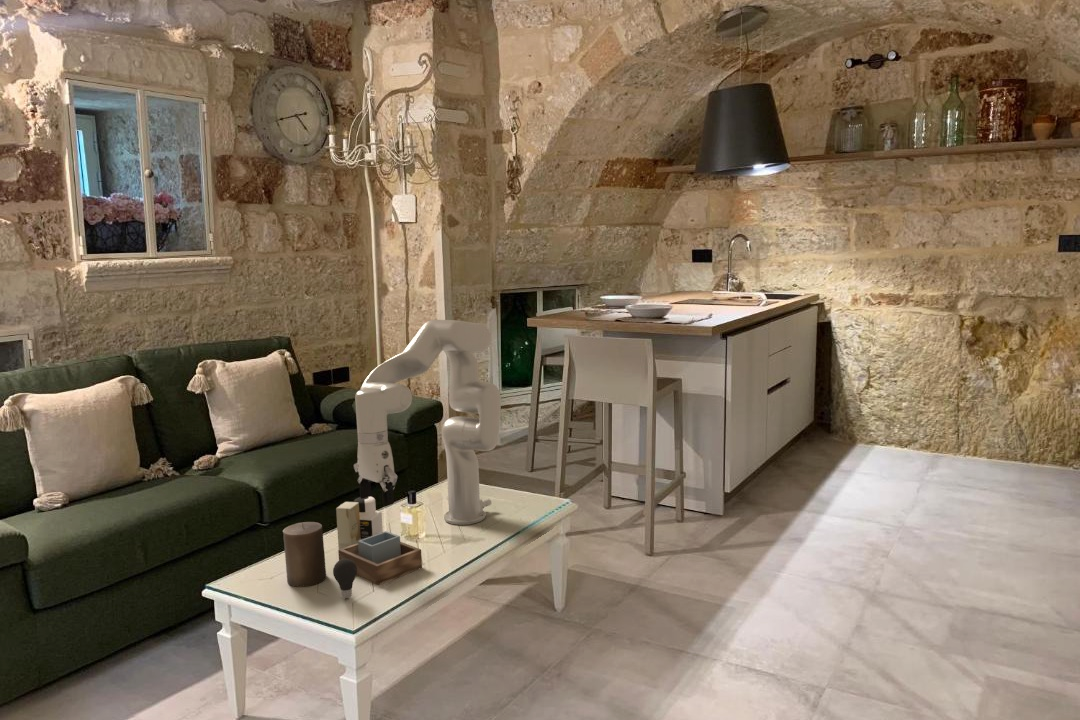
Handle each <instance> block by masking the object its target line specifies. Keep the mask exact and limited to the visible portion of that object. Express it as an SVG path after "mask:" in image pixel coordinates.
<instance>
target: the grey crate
mask: <svg viewBox="0 0 1080 720" xmlns="http://www.w3.org/2000/svg"><path fill="white" fill-rule="evenodd" d="M400 542H401V537H400V535H398V534H394V533H392V532H389V531H387V530H385V531H383V532H382V533H379V534H376V535H374V536H371V537H368V538H365V539H362V540H359V541H358V551H359V556H360V557H362V558H365V559H367V560H370V561H372V562H374V563H377V564H379V563H382V562H385V561H387V560H390V559H393V558H395V557H398V556H401V547H400Z"/></svg>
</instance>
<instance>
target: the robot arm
mask: <svg viewBox="0 0 1080 720" xmlns="http://www.w3.org/2000/svg"><path fill="white" fill-rule="evenodd" d="M491 342H492V333H491V331H490V329H489V328H488V326H487V325H485V324H484V323H478V322H471V321H464V320H457V319H456V320H453V319H430V320H428V321H426V322H425V323H423V325H422V326H421V327H420V328H419V330H418V331H417V333H416V334H415V335H414V336H413V338H412V339H411V341H409V343H408V344H407V346H406V347H405V349H404V350H403V351H402V352H400V353H399V354H396V355H394V356H393V357H391V358H389V359H387V360H385V361H384V362H382V363H381V364H379V365H378V366H376V367H375V368H374V369H373V370H372V371H371V372H370V373H369V375H368V376H367V377H366V378H365V380H364V381H363V383H362V385H361V387H360V389H359V390H358V391H357V392H356V393H355V396H354V399H355V400H354V401H355V402H354V403H355V416H356V430H357V462H355V463H354V464H353V469H354V471H355V476H356V477H357V482H358V484H359V485H358V487H359V488H358V489H359V497H360V498H361V499H363V498H366V497H372V483H371V482H375V483H377V484H378V483H379V484H380V486H381V488H382V490H381V499H382V500H381V503H382V506H383V507H387V506H391V505H393V504H394V503H395V498H394V490H395V487H396V486H397V480H398V475H397V474H396V472H395V466H394V465H395V464H394V457H393V453H392V452H393V451H392V447H391V444H390V442H389V439H388V435H389V434H388V421H387V419H388V418H387V416H388V415H391V414H396V413H397V414H398V413H402V412H405V411H406V410H407V409H409V407H411V404H412V402H413V401H412V400H413V394H412V390H411V389H410V388H409V387H407V385H404V384H401V383H398V382H400V381H404V380H407V379H410V378H415V377H418V376H421V375H423V374H425V373H427V372H428V371H429V370H430V368H431V367H432V366H433V364H434V363H435V361H436V359H437V358H438V356H439V355H440V354H441V353H442V351H443V352H444V353H445V355H446V357H447V358H448V361H449V367H450V368H449V369H450V370H449V391H448V392H449V393H448V403H449V407H450V408H451V409H452V410H453V411H456V412H459V413H469V414H478V418H477V417H471V416H470V417H469V416H460V415H459V416H457V415H456V416H452V417H449V418H447V419H446V420H445V421H444V423H443V425H442V427H441V437H442V442H443V446H444V449H445V458H446V474H447V477H446V478H447V493H448V496H447V497H448V499H447V500H448V511H447V512H445V514H444V515H443V518H444V519H443V520H444V521H445V522H446V523H448V524H452V525H459V526H460V525H462V526H465V525H473V524H478V523H479V522H482V521H483V520H485V518H486V516H487V515H486V512H485V510H484V508H485V507H488V506H491V505H492V500H491V499H490V498H488V499H485V500H482V499H481V496H480V493H481V492H480V475H479V473H480V470H479V460H478V456H477V454H476V452H475V451H479V452H480V451H482V452H489V451H492V450H494V449H495V448H496V447H497V445H498V442H499V438H500V428H501V427H500V425H501V410H502V409H501V407H502V397H501V393H500V390H499V388H498V386H497V385H496V384H494V383H492V382H488V381H480V380H479V361H478V359H477V357H476V355H475V354H474V353H483V352H485V351H487V349H489V348H490V346H491ZM386 483H387V484H386Z"/></svg>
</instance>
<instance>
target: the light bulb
mask: <svg viewBox="0 0 1080 720" xmlns="http://www.w3.org/2000/svg"><path fill="white" fill-rule="evenodd" d="M332 574H333V577H334V579H335V581H336V582H337V584H338V585H339V589H340V591H341V592H340V594H341V598H343V599H344V600H345V601H346V600H349V598H351V597H352V595H353V592H352V591H353V590H352V588H353V585H354V581H355V579H356V577H357V576H356V574H357V567H356V564H355V563H354V562H353V561H352V560H350V559H341V560H339V559H338V561H337V562H336V563H335V564H334V566H333V569H332Z"/></svg>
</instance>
